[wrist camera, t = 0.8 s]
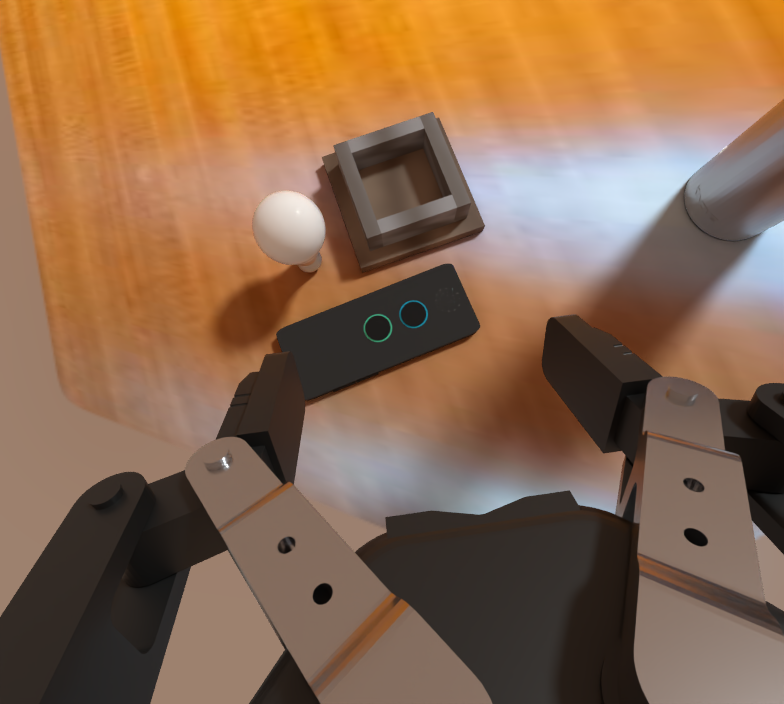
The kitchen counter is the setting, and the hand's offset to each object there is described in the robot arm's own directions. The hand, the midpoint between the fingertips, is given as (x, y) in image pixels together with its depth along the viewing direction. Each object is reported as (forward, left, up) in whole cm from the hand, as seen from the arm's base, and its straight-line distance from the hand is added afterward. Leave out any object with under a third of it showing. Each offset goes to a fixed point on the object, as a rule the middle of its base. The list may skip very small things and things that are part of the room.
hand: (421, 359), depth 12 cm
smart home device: (+1, -8, -28) cm, 29 cm away
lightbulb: (+5, -18, -28) cm, 33 cm away
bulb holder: (-7, -22, -28) cm, 36 cm away
